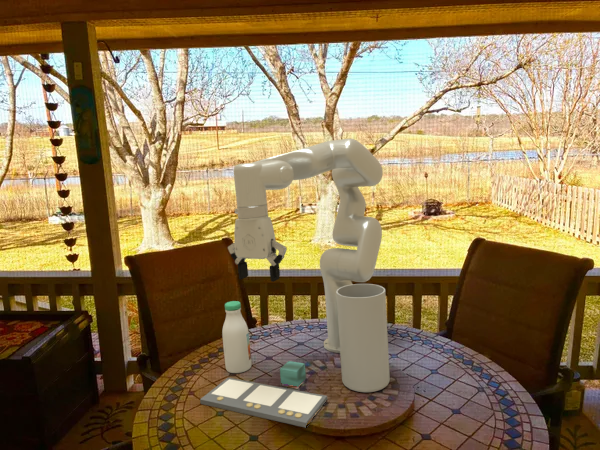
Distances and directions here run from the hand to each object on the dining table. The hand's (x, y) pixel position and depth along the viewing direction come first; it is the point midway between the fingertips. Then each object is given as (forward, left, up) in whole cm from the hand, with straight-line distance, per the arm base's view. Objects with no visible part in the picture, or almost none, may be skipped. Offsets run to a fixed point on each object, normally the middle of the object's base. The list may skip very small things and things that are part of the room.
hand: (259, 279), depth 111 cm
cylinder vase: (-12, +23, -30) cm, 40 cm away
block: (-5, +5, -30) cm, 31 cm away
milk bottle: (-8, -15, -30) cm, 35 cm away
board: (+6, +2, -30) cm, 31 cm away
